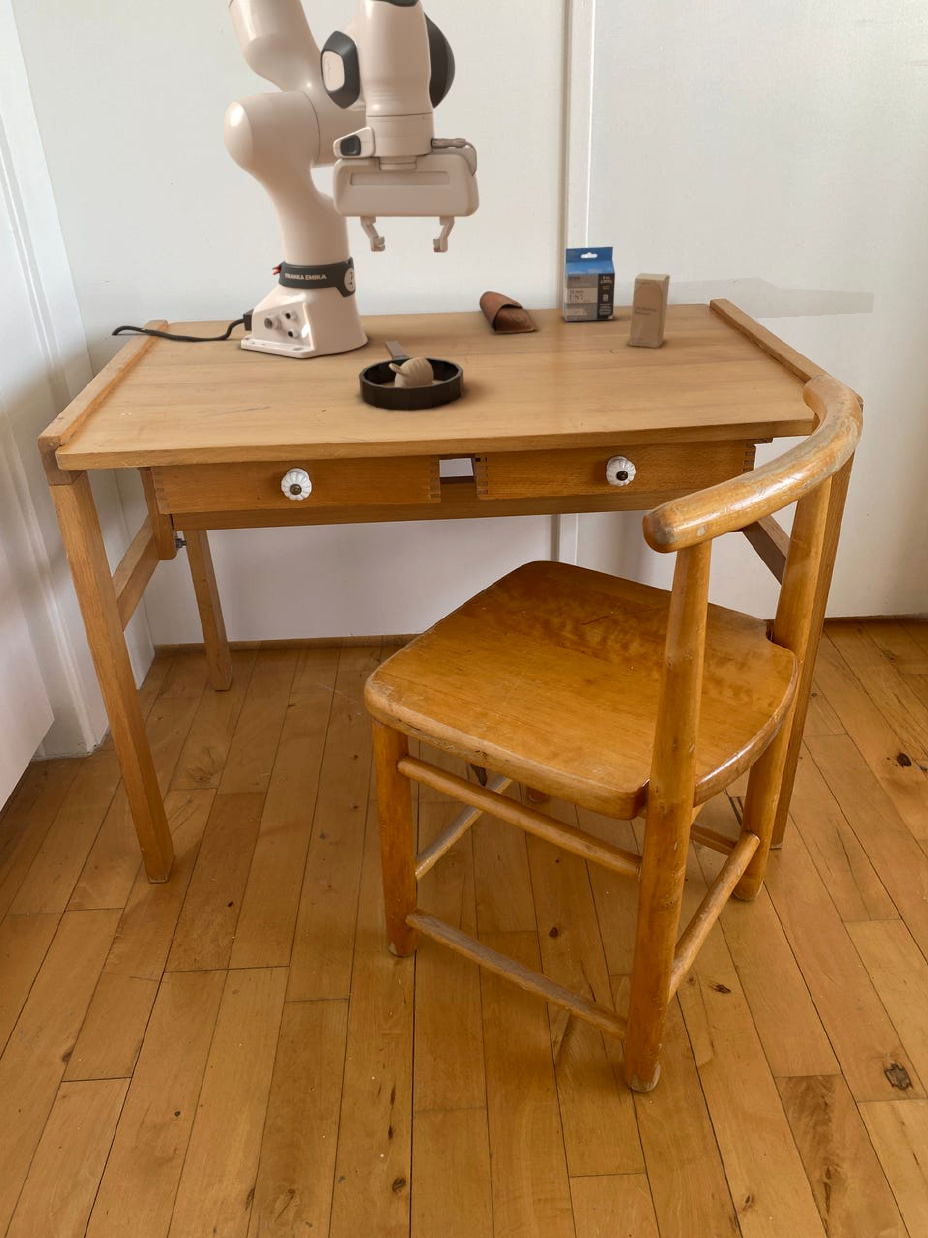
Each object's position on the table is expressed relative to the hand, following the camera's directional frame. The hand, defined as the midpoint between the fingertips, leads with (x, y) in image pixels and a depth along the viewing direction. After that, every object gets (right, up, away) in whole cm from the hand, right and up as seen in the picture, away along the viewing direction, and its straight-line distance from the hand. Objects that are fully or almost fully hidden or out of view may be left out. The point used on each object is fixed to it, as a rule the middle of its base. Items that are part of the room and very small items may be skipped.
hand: (409, 251), depth 128 cm
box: (+39, -4, +29) cm, 48 cm away
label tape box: (+31, +5, +44) cm, 54 cm away
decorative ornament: (0, -17, +10) cm, 20 cm away
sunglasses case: (+16, +5, +45) cm, 48 cm away
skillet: (-1, -14, +15) cm, 21 cm away
